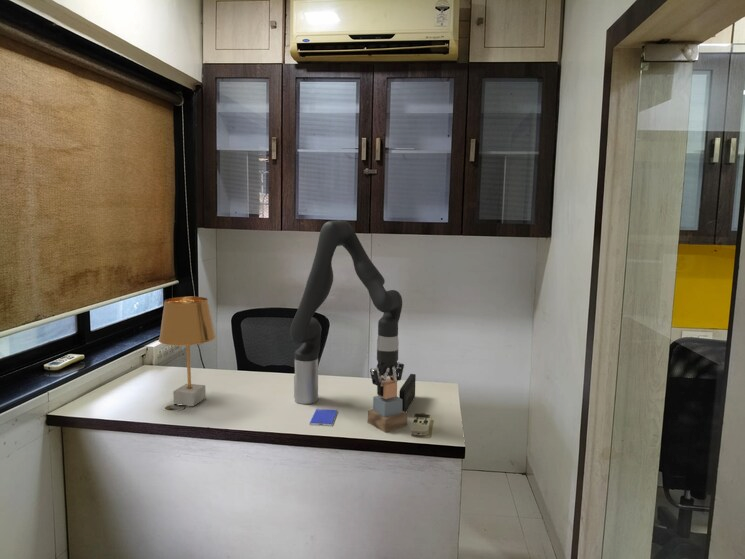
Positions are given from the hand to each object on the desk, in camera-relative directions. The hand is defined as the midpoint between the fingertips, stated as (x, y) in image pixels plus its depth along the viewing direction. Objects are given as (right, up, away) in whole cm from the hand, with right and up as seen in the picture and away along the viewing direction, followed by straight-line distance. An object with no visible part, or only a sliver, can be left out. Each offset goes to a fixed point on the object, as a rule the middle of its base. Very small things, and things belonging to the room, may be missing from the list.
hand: (386, 394), depth 182 cm
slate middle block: (0, -7, +1) cm, 7 cm away
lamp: (-77, -8, +20) cm, 80 cm away
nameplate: (+9, -9, +20) cm, 23 cm away
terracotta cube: (0, 0, 0) cm, 0 cm away
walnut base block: (0, -11, +2) cm, 12 cm away
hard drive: (-23, -11, +6) cm, 26 cm away
